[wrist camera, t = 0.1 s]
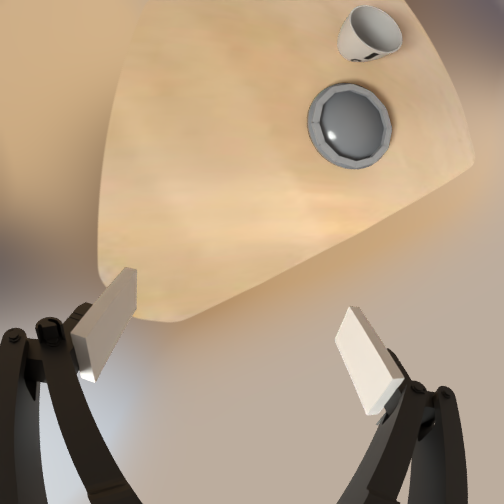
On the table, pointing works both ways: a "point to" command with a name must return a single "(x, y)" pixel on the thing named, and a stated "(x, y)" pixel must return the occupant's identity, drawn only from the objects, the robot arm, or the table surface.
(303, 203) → the table surface
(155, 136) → the table surface
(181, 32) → the table surface
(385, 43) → the cup
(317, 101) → the tray
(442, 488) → the robot arm
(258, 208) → the table surface
